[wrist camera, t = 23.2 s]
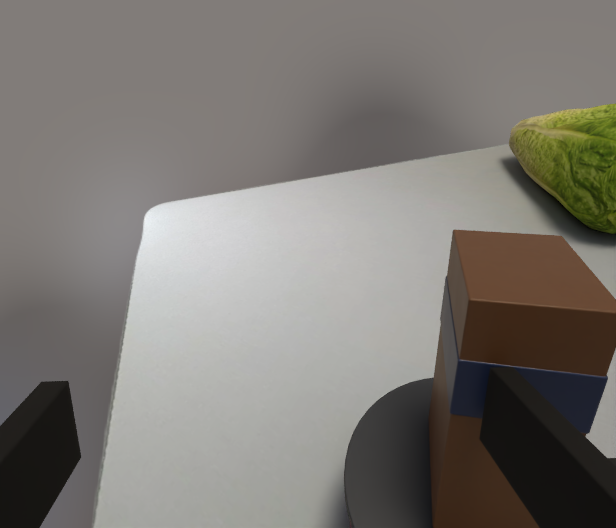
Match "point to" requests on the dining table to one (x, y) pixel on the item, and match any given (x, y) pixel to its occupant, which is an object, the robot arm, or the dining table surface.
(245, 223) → the dining table surface
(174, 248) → the dining table surface
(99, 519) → the dining table surface
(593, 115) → the lettuce
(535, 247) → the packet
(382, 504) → the lidded tub
